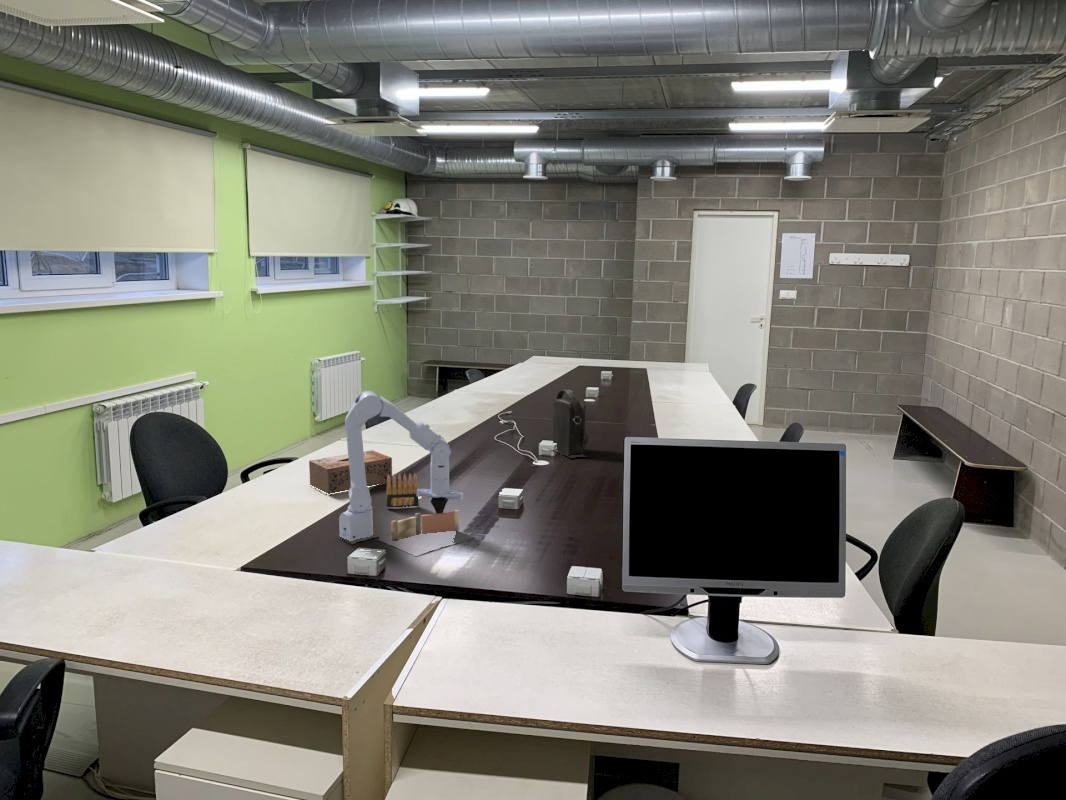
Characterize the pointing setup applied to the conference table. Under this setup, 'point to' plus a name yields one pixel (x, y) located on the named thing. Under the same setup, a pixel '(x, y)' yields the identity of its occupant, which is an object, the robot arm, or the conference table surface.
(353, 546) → the conference table surface
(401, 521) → the fence base
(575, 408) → the shoulder bag
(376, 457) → the tissue box cover
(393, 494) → the ammunition clip
